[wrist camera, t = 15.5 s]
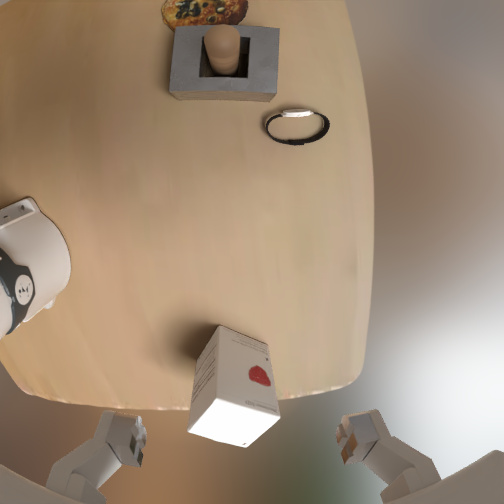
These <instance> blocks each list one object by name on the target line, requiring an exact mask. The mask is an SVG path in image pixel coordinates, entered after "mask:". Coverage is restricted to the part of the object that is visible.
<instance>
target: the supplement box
mask: <svg viewBox="0 0 504 504" xmlns="http://www.w3.org/2000/svg"><path fill="white" fill-rule="evenodd" d="M279 418H280V413H279V407H278V401H277V395H276V389H275V383H274V377H273V371H272V365H271V359H270V353H269V347H268V345H266V344H264V343H261V342H259V341H256V340H254V339H252V338H249V337H247V336H244V335H242V334H240V333H237V332H235V331H233V330H230V329H228V328H226V327H224V326H221V325H219V326H218V328H217V329H216V331H215V332H214V334H213V336H212V337H211V339H210V340H209V342H208V344H207V345H206V347H205V348H204V350H203V351H202V353H201V355H200V356H199V358H198V359H197V363H196V370H195V377H194V384H193V391H192V399H191V406H190V414H189V422H188V428H187V431H188V432H190V433H194V434H197V435H200V436H203V437H207V438H210V439H213V440H215V441H219V442H225V443H229V444H233V445H237V446H241V447H247V446H249V445H250V444H251V443H252V442H253V441H254V440H256V439H257V438H258V437H259V436H260V435H261V434H262V433H264V432H265V431H266V430H267V429H269V428H270V427H271V426H272V425H273V424H274V423H275V422H276V421H277V420H278V419H279Z"/></svg>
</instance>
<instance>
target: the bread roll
mask: <svg viewBox="0 0 504 504" xmlns="http://www.w3.org/2000/svg"><path fill="white" fill-rule="evenodd" d="M247 9H248V1H247V0H167V2H166V3H165V4H164V5H163V8H162V12H163V17H164V18H163V20H164V23H165V24H167V25H168V26H169V27H170V28H171V29H172V30H173V31H174V32H175V30H176V27H179V26H196V25H220V24H226V25H238V23H239V22H240V21H242V20H243V18H244V17H245V15H246V12H247Z"/></svg>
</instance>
